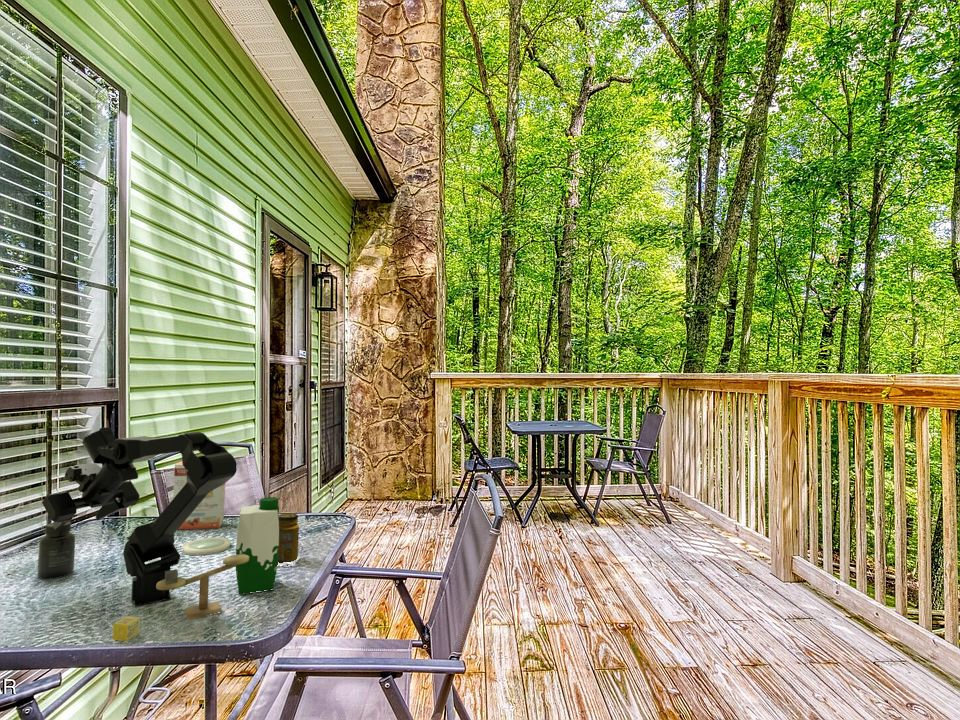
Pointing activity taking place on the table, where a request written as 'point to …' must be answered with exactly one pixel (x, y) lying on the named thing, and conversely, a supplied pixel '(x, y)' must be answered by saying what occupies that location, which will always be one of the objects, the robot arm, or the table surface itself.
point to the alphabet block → (126, 628)
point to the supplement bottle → (56, 552)
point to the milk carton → (258, 546)
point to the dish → (206, 546)
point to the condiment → (288, 537)
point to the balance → (204, 607)
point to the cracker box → (201, 504)
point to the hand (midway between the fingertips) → (76, 523)
